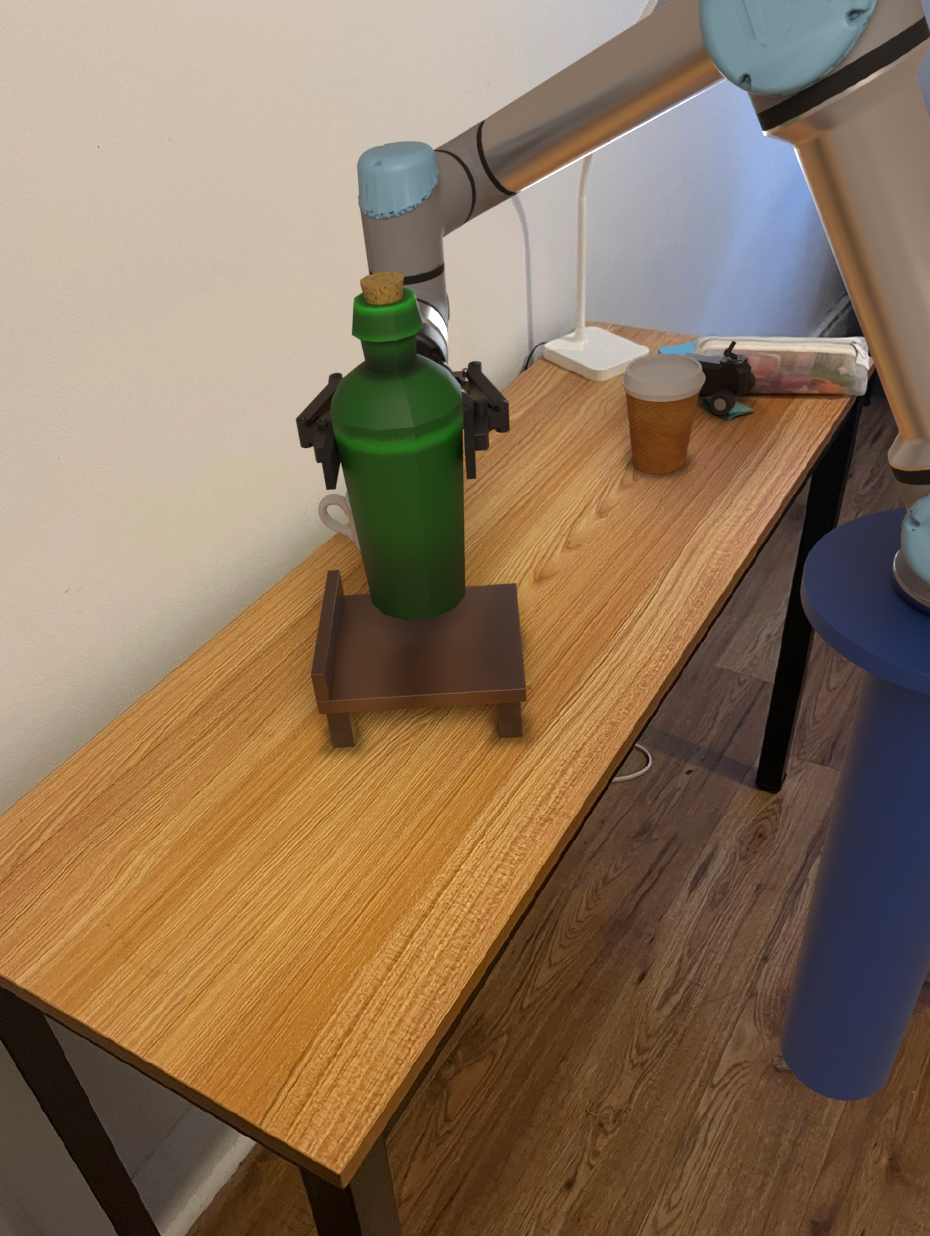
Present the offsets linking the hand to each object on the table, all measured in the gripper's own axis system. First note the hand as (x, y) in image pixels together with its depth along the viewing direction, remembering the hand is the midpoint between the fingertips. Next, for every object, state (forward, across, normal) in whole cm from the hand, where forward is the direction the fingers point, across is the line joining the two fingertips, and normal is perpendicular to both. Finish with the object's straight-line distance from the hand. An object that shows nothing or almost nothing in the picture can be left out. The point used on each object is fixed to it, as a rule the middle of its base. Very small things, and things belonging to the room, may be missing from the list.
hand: (399, 468), depth 79 cm
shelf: (-3, 0, -25) cm, 25 cm away
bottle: (-4, 0, -15) cm, 16 cm away
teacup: (-28, +5, -25) cm, 38 cm away
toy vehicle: (-61, -35, -25) cm, 74 cm away
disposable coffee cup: (-44, -28, -25) cm, 58 cm away
